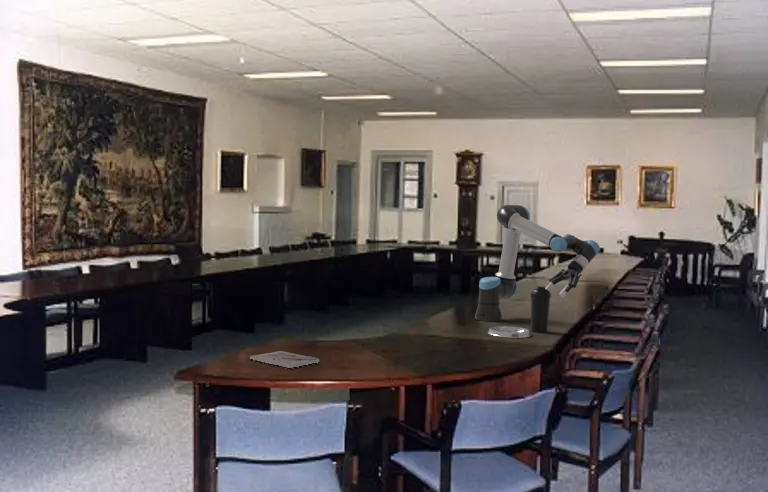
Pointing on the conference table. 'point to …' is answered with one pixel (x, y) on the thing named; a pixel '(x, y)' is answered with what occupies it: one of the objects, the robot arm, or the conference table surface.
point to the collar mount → (509, 332)
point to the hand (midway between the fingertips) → (552, 294)
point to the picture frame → (285, 359)
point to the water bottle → (540, 309)
